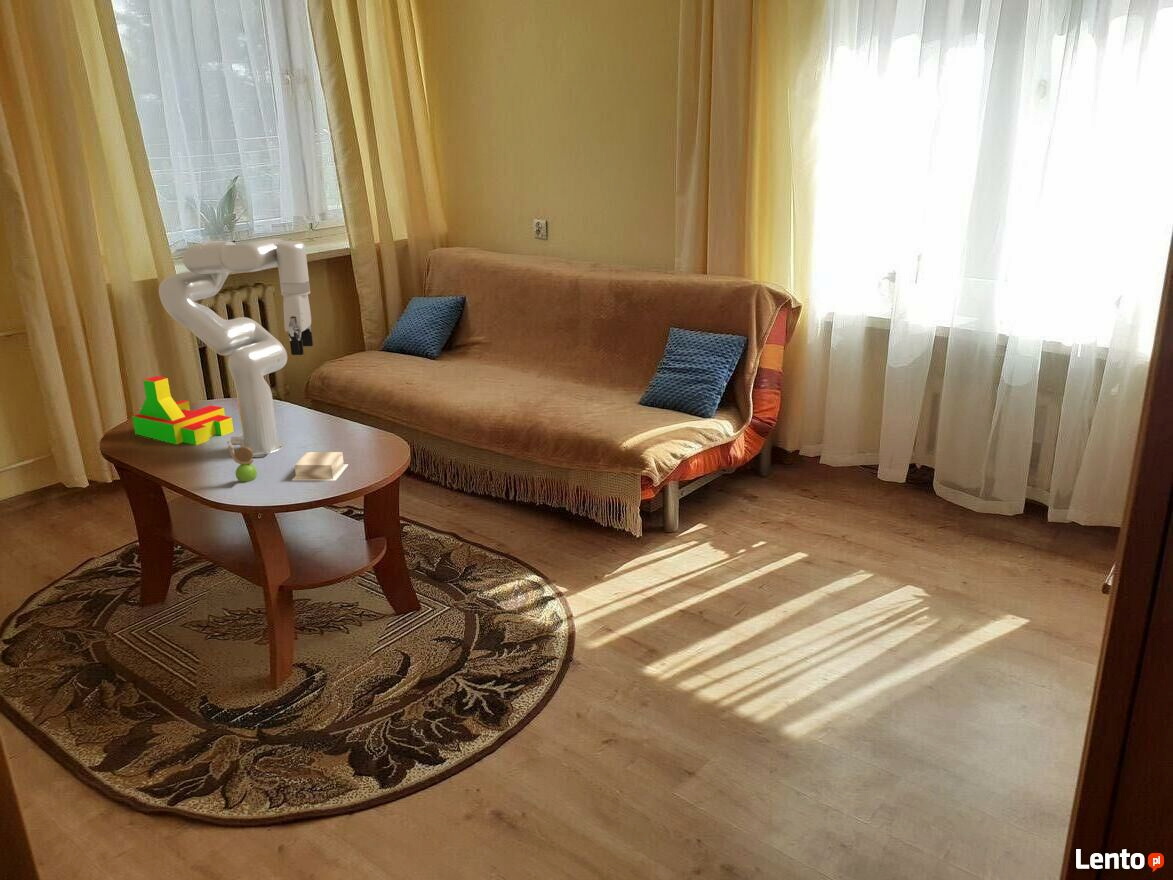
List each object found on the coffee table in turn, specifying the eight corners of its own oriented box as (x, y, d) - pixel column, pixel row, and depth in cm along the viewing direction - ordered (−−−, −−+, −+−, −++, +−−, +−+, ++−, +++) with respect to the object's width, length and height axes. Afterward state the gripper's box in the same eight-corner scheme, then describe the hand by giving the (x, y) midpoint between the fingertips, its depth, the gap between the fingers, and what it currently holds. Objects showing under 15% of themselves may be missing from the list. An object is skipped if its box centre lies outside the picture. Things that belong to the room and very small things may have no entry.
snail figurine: (236, 479, 252) (230, 437, 248) (260, 478, 253) (254, 436, 249) (230, 487, 247) (224, 444, 243) (255, 485, 248) (249, 443, 244)
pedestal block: (296, 478, 249) (294, 465, 248) (308, 465, 258) (306, 452, 257) (332, 479, 249) (331, 465, 247) (343, 465, 258) (342, 452, 257)
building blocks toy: (190, 448, 278) (180, 389, 272) (135, 436, 289) (125, 379, 283) (239, 430, 293) (231, 374, 287) (186, 419, 305) (177, 365, 299)
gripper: (290, 282, 258) (297, 343, 263) (271, 294, 241) (279, 358, 247) (317, 282, 258) (323, 342, 263) (300, 294, 241) (308, 358, 247)
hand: (302, 350), depth 255 cm, fingers open, 9 cm apart
